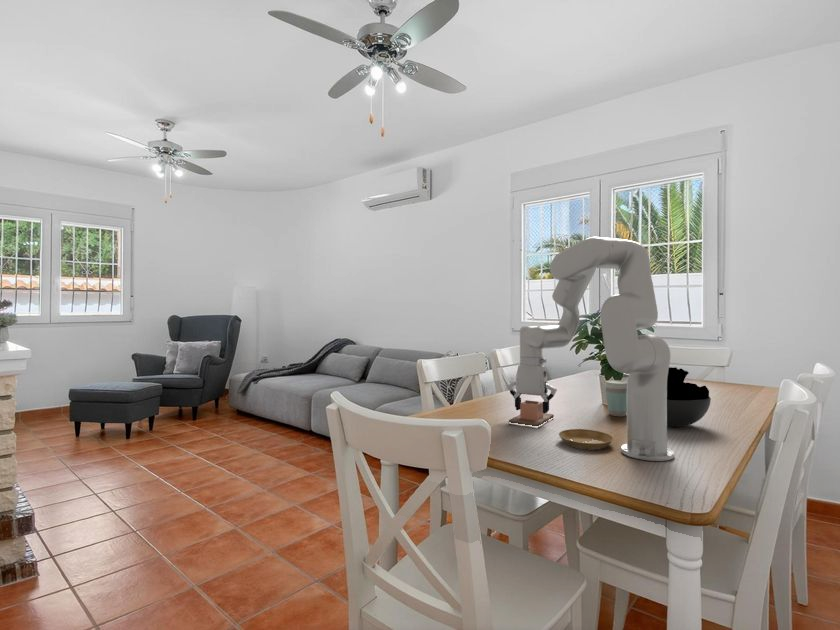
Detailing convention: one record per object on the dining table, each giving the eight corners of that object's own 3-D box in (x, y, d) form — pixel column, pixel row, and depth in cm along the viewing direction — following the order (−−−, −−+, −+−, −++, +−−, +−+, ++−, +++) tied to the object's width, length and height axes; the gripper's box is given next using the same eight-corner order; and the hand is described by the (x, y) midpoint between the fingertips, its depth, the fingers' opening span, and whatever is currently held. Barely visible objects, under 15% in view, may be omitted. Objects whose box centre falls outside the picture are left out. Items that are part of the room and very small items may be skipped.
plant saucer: (618, 442, 132) (618, 433, 132) (606, 456, 120) (606, 446, 120) (567, 435, 140) (567, 426, 140) (551, 447, 128) (551, 437, 128)
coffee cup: (634, 417, 161) (634, 383, 161) (610, 417, 161) (609, 383, 161) (624, 411, 170) (623, 379, 169) (601, 412, 170) (600, 380, 170)
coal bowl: (691, 418, 158) (691, 364, 158) (724, 434, 138) (723, 372, 138) (631, 418, 160) (631, 364, 160) (655, 433, 140) (655, 372, 140)
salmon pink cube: (537, 420, 153) (537, 403, 153) (520, 417, 156) (520, 401, 156) (543, 416, 158) (543, 400, 157) (526, 414, 161) (526, 398, 161)
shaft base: (537, 428, 147) (537, 413, 147) (508, 424, 153) (508, 409, 153) (553, 418, 161) (553, 404, 161) (526, 415, 166) (526, 401, 166)
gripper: (559, 361, 155) (560, 412, 155) (512, 359, 165) (512, 406, 165) (552, 364, 149) (552, 416, 149) (503, 361, 158) (504, 410, 159)
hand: (531, 411), depth 157 cm, fingers open, 9 cm apart
